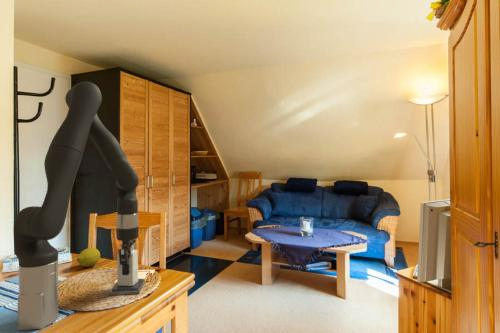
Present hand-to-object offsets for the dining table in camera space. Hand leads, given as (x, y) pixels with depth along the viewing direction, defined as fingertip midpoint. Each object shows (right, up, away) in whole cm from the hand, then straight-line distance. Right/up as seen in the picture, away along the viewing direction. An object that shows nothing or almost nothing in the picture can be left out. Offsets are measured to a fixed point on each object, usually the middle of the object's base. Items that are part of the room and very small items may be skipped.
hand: (127, 271), depth 107 cm
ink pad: (0, -6, 0) cm, 6 cm away
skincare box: (0, -5, 0) cm, 5 cm away
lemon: (-27, -6, +23) cm, 36 cm away
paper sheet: (-2, -6, +11) cm, 13 cm away
